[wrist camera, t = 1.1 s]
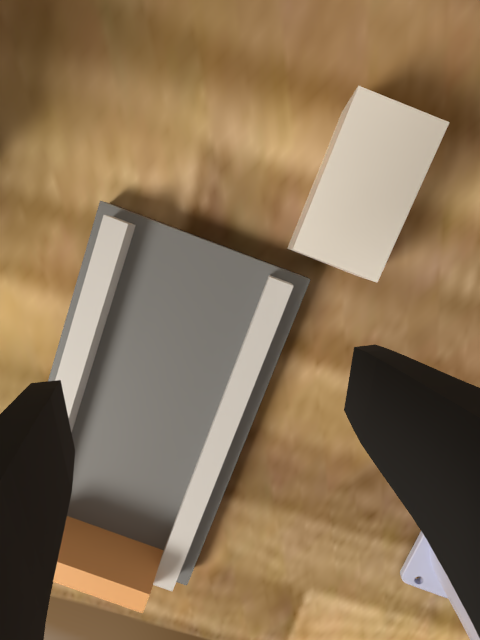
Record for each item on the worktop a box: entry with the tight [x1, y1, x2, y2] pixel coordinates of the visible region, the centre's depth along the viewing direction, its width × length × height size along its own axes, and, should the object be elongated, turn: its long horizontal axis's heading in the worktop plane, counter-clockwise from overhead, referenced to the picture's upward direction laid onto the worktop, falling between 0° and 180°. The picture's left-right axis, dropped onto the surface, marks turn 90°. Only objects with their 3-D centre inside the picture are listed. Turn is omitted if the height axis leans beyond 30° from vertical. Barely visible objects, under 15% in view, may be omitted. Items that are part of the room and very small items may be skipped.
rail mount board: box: [48, 201, 310, 613], centre depth 21 cm, size 11×19×4 cm, turn 160°
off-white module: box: [287, 86, 449, 282], centre depth 19 cm, size 4×7×4 cm, turn 159°
